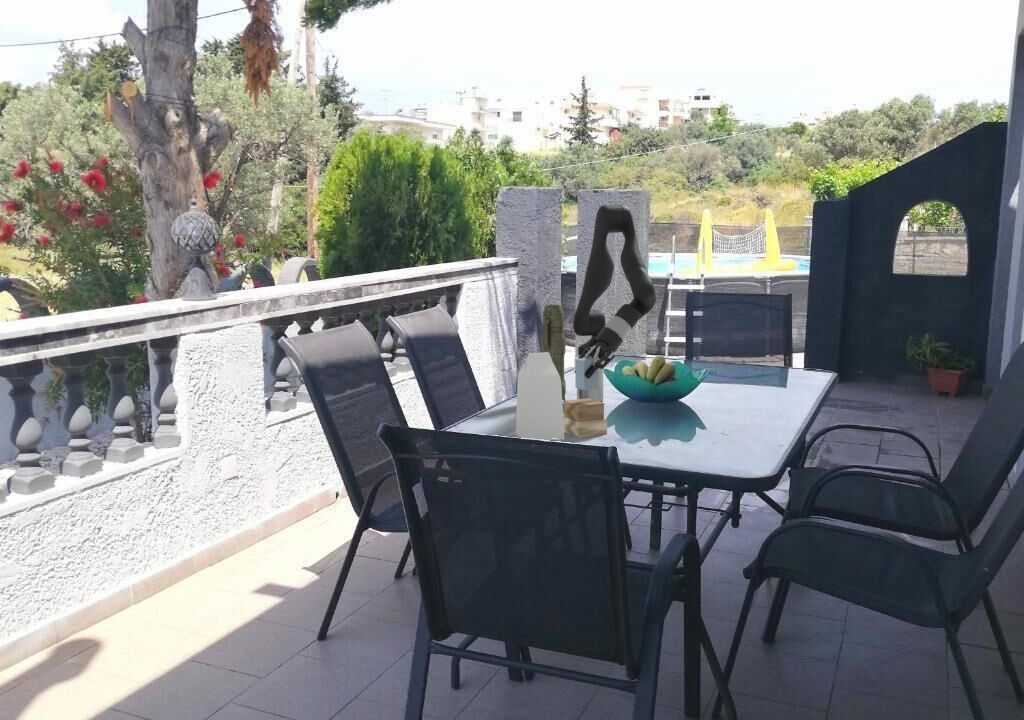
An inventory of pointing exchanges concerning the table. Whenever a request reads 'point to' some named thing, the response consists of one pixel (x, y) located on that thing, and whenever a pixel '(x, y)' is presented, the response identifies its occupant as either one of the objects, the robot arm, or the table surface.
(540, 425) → the milk
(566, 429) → the tower bottom block
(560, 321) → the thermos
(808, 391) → the table surface
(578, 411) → the tower top block
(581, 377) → the slate block
